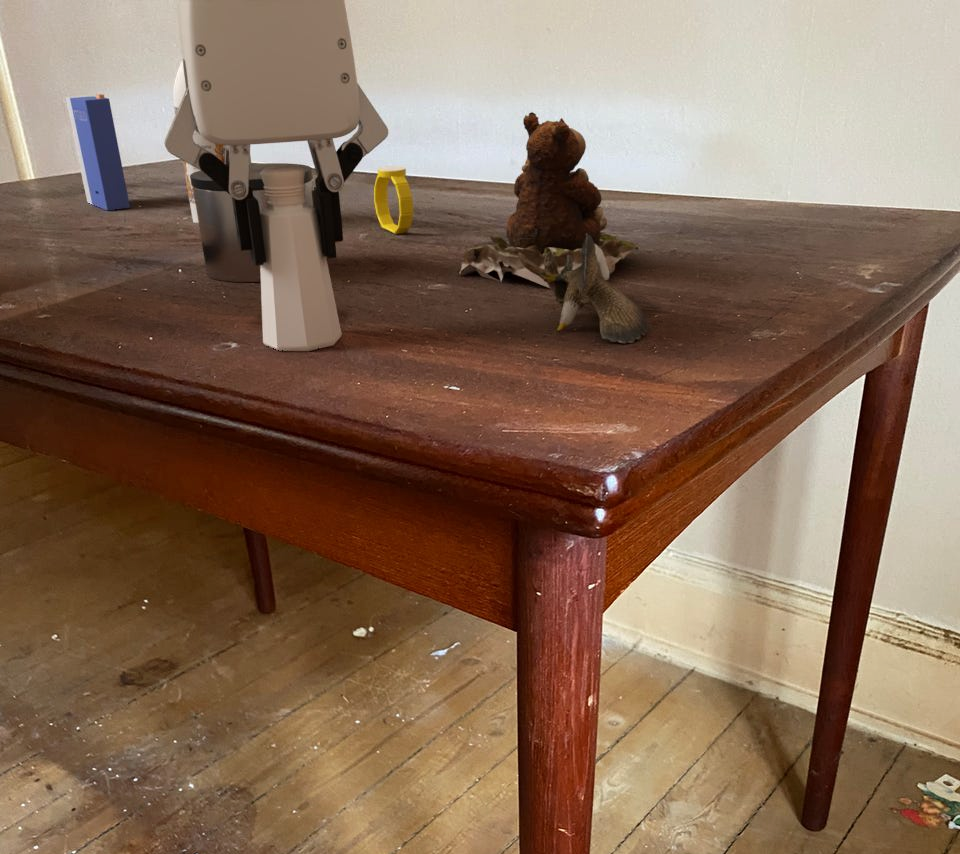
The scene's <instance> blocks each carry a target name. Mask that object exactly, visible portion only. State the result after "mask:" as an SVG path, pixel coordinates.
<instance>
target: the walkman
mask: <svg viewBox="0 0 960 854" xmlns="http://www.w3.org/2000/svg"><path fill="white" fill-rule="evenodd" d="M65 102H66V106H67V112H68V116H69V120H70V125H71V126H70V127H71V130H72V136H73V141H74V147H75V151H76V155H77V160H78V165H79V170H80V175H81V179H82V183H83V189H84V193H85V197H86V202H88V203H90V204H89V205H91V204H92V205H91V206H94V205H95V206H94V207H96V206H97V207H96V208H99V207H100V208H99V209H102V210H105V211H107V210H109V211H116V210H115V209H117V210H123V208H124V209H130V208H131V205H130V200H129V195H128V190H127V184H126V178H125V174H124V169H123V164H122V158H121V153H120V149H119V143H118V138H117V132H116V127H115V122H114V117H113V112H112V106H111V102H110V98H107V97H105V94H102V93H99V94H95V95H78V96H77V95H76V96H65ZM88 203H87V204H88ZM129 207H130V208H129Z"/></svg>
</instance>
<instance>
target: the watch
mask: <svg viewBox="0 0 960 854" xmlns="http://www.w3.org/2000/svg"><path fill="white" fill-rule="evenodd" d="M406 176H407V170H406V167H404V166H401V165H400V166H399V165H398V166H397V165H390V166H389V165H388V166H381V167H378V168H377V176H376V178H375V183H374V187H373V188H374V189H373V199H374V200H373V201H374V208H375V214H376V217H377V219H378V222H379V224H380V226H381V228H382V229H384V230H386V231H389V232H390V233H392V234H394V235H400V234H407V233H408V231H409V229H410V228H411V226H412V222H413V217H414V203H413V202H414V201H413V195H412V192H411V188H410V184H409V182H408V180H407V179H406ZM390 179H391V182H392V183H393V185H394V187H395V190H396V195H397V198H398V208H399V210H398V211H399V216H398V222H397V223H398V224H395V222H394V220H393V218H392V216H391V213H390V207H389V202H388V186H389V182H390Z"/></svg>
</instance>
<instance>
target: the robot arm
mask: <svg viewBox="0 0 960 854" xmlns="http://www.w3.org/2000/svg"><path fill="white" fill-rule="evenodd" d="M176 8H177V9H176V11H177V22H178V33H179V42H180V43H179V44H180V51H181V62H182V61H183V70H184V78H185V85H186V91H185V94H184V96H183V98H182V101H181V103H180V105H179V108H178V110H177V113H176V115H175V114H174V118H173V120H172V123H171V125H170V127H169V129H168V132H167V134H166V137H165V139H164V147H165V148H166V150H167V152H168V153H169V154H171V155H172V156H174V157H175V158H178V159H179V160H181V161H182V162H183V161H185V162H186V163H188V164H190V165H192V166H194V167H196V168H197V169H199V170H201V171H203V172H204V173H205V174H206V175H207V176H209V177H210V178H211V179H212V180H213V181H214V182H216V183H217V184H218V185H219V186H220V187H222V188H223V189H224V190H225V191H226V192H227V193H229V194H230V195H231V196H232V203H233V209H234V216H235V223H236V230H237V237H238V243H239V248H240V250H241V251H244V250H249V253H250V258H251V260H252V261H253V263H254V264H255V266H257V265H263V264H264V263H266V255H265V247H264V240H263V232H262V225H261V217H260V210H259V203H258V200H257V199H256V198H255V197H254V196H253V190H252V188H251V186H250V185H249V166H250V156H251V145H265V144H280V143H293V142H307V145H308V148H309V151H310V155H311V158H312V163H313V166H314V170H315V173H316V176H317V177H316V178H315V179H314V184H315V186H313V190H312V201H313V208H315V209H316V213H317V216H318V221H319V228H320V235H321V242H322V250H323V255H324V256H325V257H326V259H336V258H337V246H336V243H339V242H343V241H344V230H343V221H342V210H341V200H340V191H341V190H343V188H344V185H345V182H346V181H347V180H348V179H349V177H350V176H351V175H352V173H353V172H354V171H355V169H356V168H357V166H358V165H359V164H360V163H361V162H362V159H363V158H364V157H365V156H367V155H368V154H370V153H371V152H372V151H373V150H375V148H376V147H378V146H379V145H380V144H381V143H382V142H384V141H385V140H386V139H387V138H388V136H389V128H388V126H387V124H386V123H385V122H384V120H383V119H382V117H381V115H380V114H379V113H378V111H377V110H376V108H375V107H374V106H373V104H372V102H371V101H370V99H369V97H367V95H366V94H365V92H364V90H363V89H362V87H361V86H360V85H359V83H358V78H357V70H356V62H355V56H354V50H353V49H354V48H353V43H352V37H351V31H350V24H349V20H348V13H347V8H346V3H345V0H176ZM356 129H357V130H356ZM194 130H196V131H197V132H198V133H200V134H201V136H202V137H203V138H204V139H206V140H208V141H210V142H212V143H215V144H219V145H225V164H224V163H223V162H222V161H221V160H220V159H219V158H218V157H216V156H215V155H214V154H213V153H211V152H210V151H208V150H206V149H204V148H203V147H201V146H199V145H198V144H196V143H195V142H194V141H193V133H194ZM355 130H356V132H354V134H353V135H351V137H350V138H349V139H347V140H346V141H343V142H342V143H341V145H340V146H339V147H338V148H337V149H336V146H335V142H334V139H338V138H342V137H345V136H347V135H349V134H351V133H352V132H353V131H355Z"/></svg>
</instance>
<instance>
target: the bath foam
mask: <svg viewBox="0 0 960 854" xmlns="http://www.w3.org/2000/svg"><path fill="white" fill-rule="evenodd" d="M174 79H175V80H174V83H173V92H172V93H173V94H172V95H173V97H172V98H173V99H172V100H173V109H174V116H175V115H176V113H177V110H178V108H179V105H180V103H181V101H182V98H183V96H184V94H185V91H186V85H185V78H184V70H183V61H182V60H181V62H180V64H179V66H178V70H177V72H176V76H175V78H174ZM193 141H194V142H195V143H196V144H198V145H199V146H201V147H203V148H204V149H206V150H208V151H210V152H211V153H213V154H214V155H215V156H216V157H218V158H219V159H220V160H221V161H222V162H223V163H224V164H225V145H219V144H215V143H212V142H210V141H208V140H206V139H204V138H203V137H202V136H201V134H200V133H198V132H197V131H196V130H194V133H193ZM250 164H252V158H251V155H250ZM182 165H183V170H184V177H185V183H186V187H187V188H186V189H187V195H188V201H189V206H190V212H191V218H192V223H194V224H195V223H196V224H199V222H198V216H197V209H196V203H195V197H194V191H193V187H192V185H191V180H190V175H191V174H192V173H194V172H197V171H200V170H199V169H197V168H196V167H194V166H192V165H190V164H188V163H186V162H185V161H183V160H182Z"/></svg>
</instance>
